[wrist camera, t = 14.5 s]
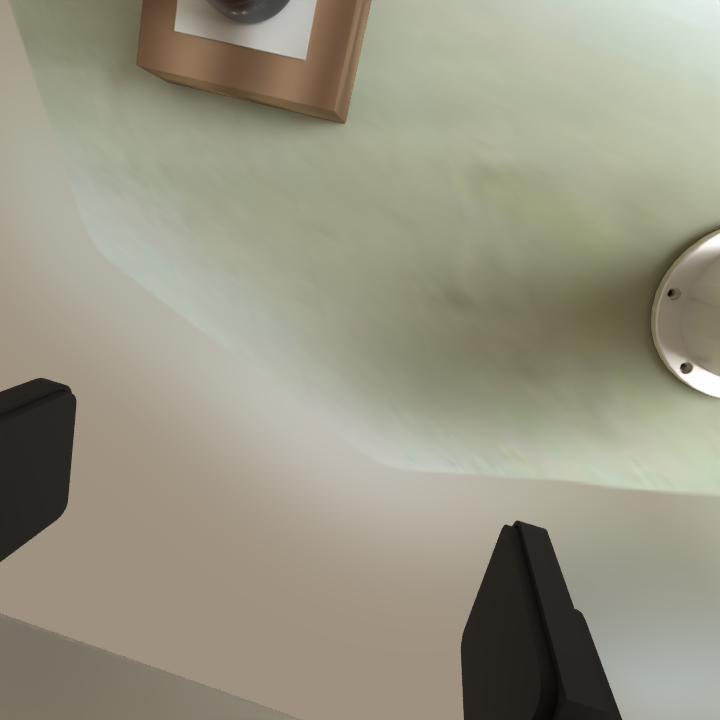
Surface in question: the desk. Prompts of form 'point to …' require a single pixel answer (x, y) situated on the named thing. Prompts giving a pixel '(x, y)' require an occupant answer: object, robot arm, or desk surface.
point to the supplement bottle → (249, 9)
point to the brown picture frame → (259, 52)
